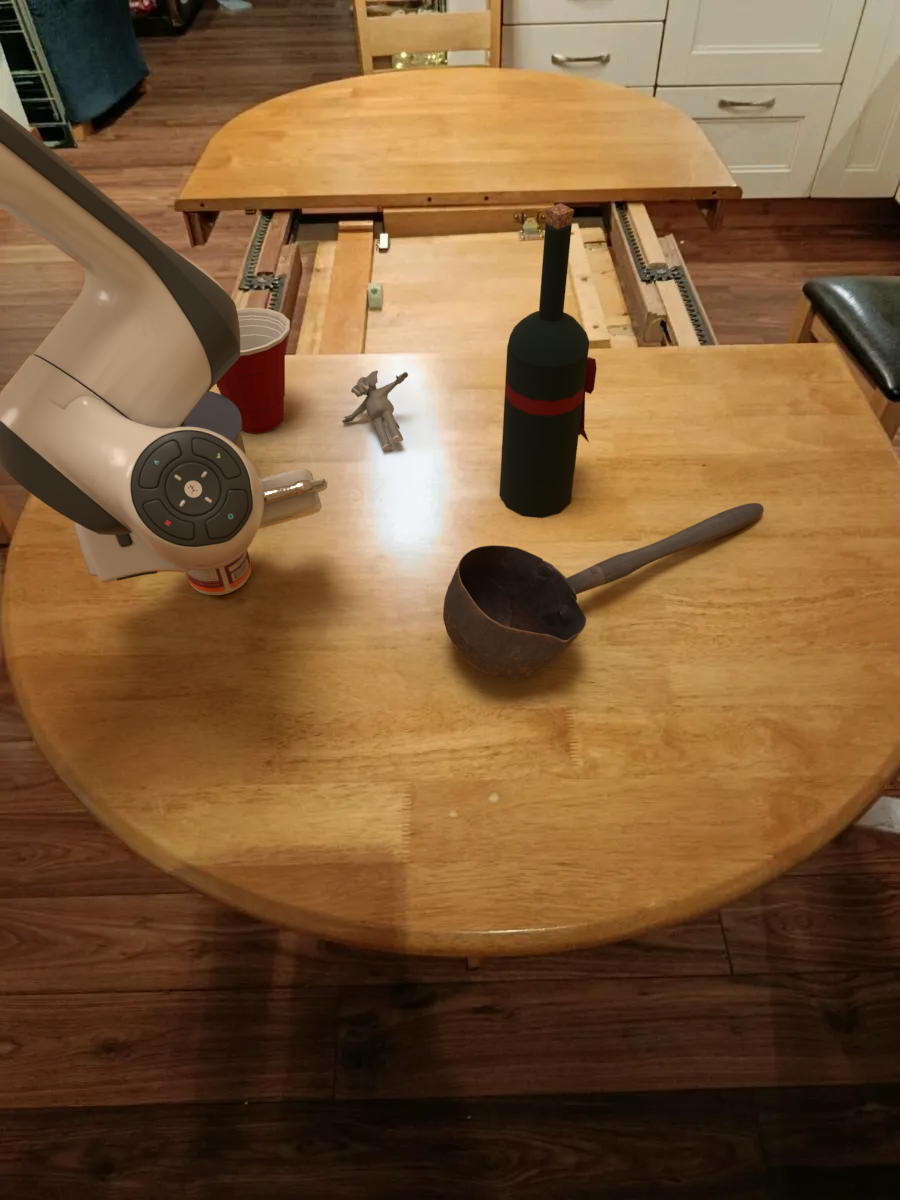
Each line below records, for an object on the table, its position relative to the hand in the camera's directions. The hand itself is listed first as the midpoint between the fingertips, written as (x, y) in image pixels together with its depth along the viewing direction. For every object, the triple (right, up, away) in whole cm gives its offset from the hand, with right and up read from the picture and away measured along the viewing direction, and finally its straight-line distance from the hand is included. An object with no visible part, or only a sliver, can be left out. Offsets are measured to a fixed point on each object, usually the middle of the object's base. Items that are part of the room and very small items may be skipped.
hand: (205, 526), depth 79 cm
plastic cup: (0, +15, +22) cm, 26 cm away
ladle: (+39, -6, +3) cm, 40 cm away
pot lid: (-5, +10, +6) cm, 13 cm away
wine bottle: (+33, +5, +13) cm, 36 cm away
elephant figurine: (+15, +13, +20) cm, 28 cm away
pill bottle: (0, -5, +4) cm, 6 cm away
